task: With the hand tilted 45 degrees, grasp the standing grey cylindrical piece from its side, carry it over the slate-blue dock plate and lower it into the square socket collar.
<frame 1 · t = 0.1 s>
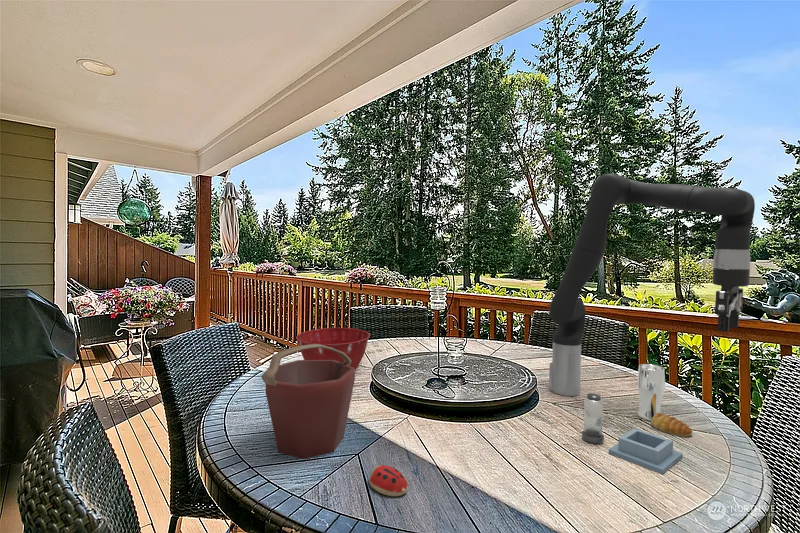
hand: (728, 329, 110), 29 cm above the table, tool pointing down, fingers open, 8 cm apart
bucket: (308, 442, 110), on the table
beer glass: (649, 417, 126), on the table
grey cylindrical piece: (592, 439, 111), on the table
ladybug figurine: (388, 488, 89), on the table
mixing bowl: (333, 373, 168), on the table
dock: (645, 455, 103), on the table
pastry: (669, 431, 118), on the table
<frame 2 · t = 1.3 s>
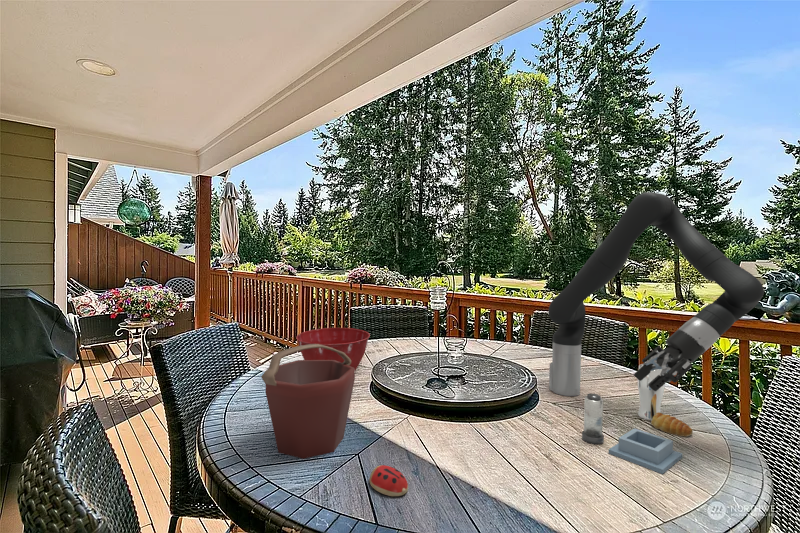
hand: (643, 383, 109), 16 cm above the table, tool tilted 45°, fingers open, 8 cm apart
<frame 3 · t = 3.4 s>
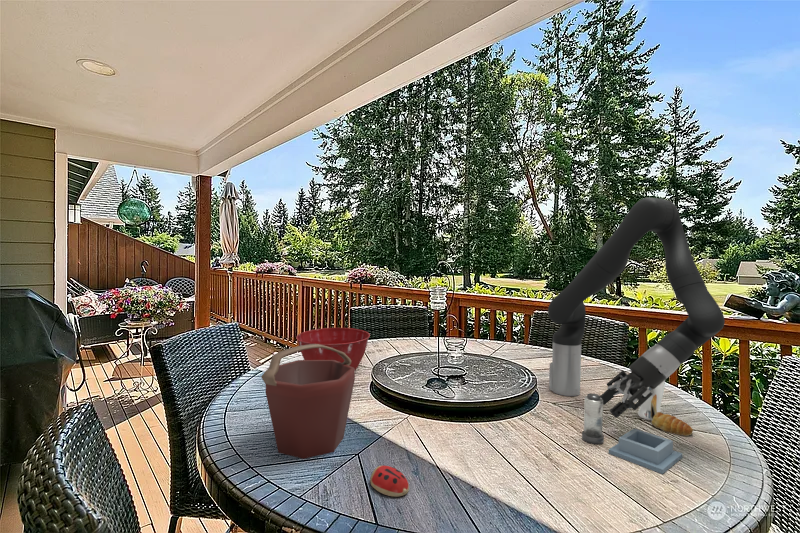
hand: (606, 408, 110), 9 cm above the table, tool tilted 45°, fingers open, 8 cm apart
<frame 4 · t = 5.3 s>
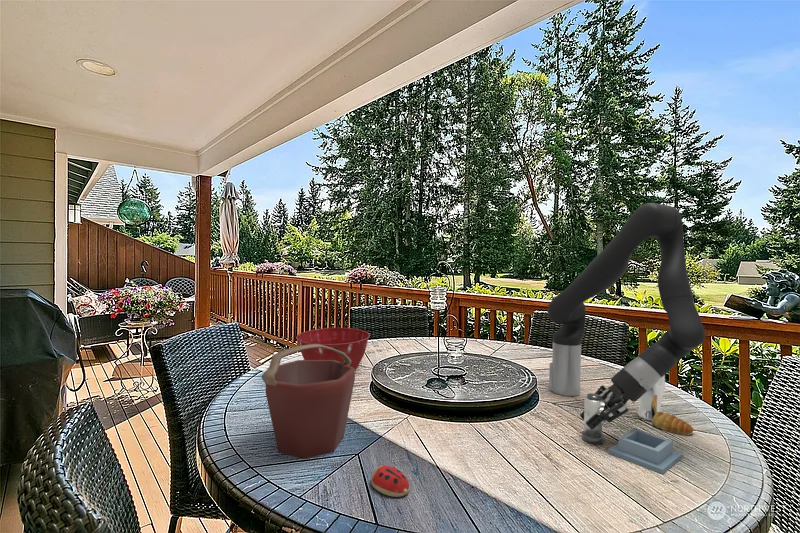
hand: (585, 422, 111), 5 cm above the table, tool tilted 45°, fingers closed on grey cylindrical piece, 4 cm apart
grey cylindrical piece: (592, 439, 111), on the table, touching gripper
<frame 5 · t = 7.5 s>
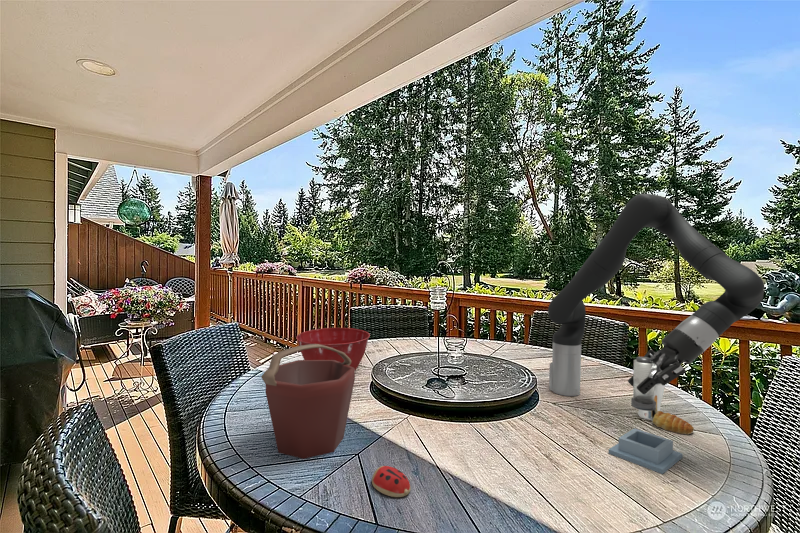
hand: (635, 387, 103), 17 cm above the table, tool tilted 45°, fingers closed on grey cylindrical piece, 4 cm apart
grey cylindrical piece: (643, 406, 103), point 12 cm above the table, touching gripper
when the fingers open (7 cm above the table, at t = 9.7 s): grey cylindrical piece drops 1 cm, resting on dock.
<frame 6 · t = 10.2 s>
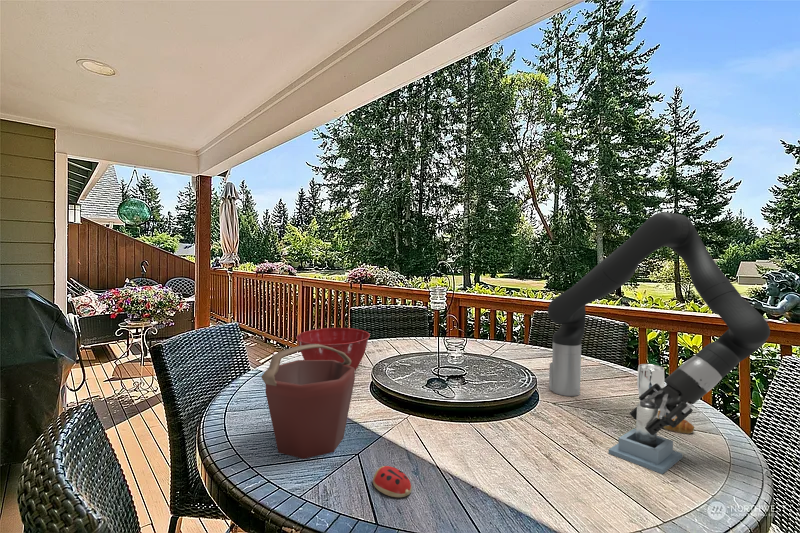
hand: (640, 424, 103), 8 cm above the table, tool tilted 45°, fingers open, 8 cm apart
grey cylindrical piece: (645, 450, 103), point 1 cm above the table, touching dock
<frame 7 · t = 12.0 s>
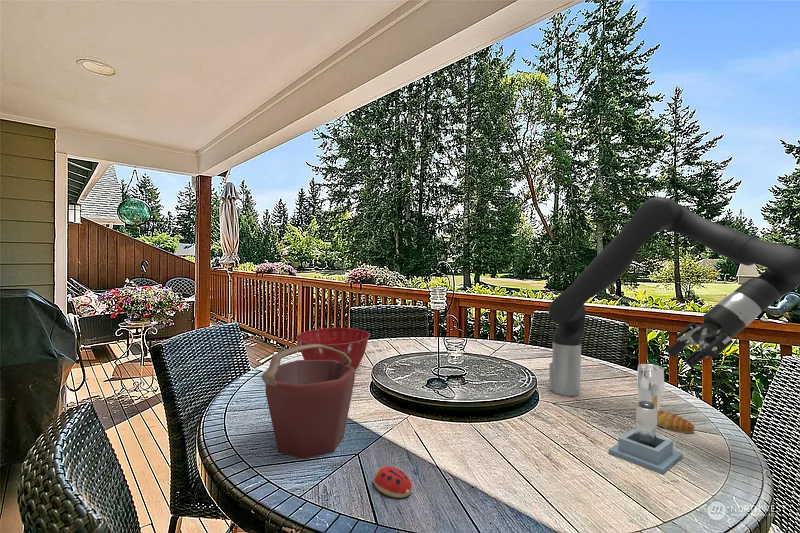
hand: (678, 359, 105), 23 cm above the table, tool tilted 45°, fingers open, 8 cm apart
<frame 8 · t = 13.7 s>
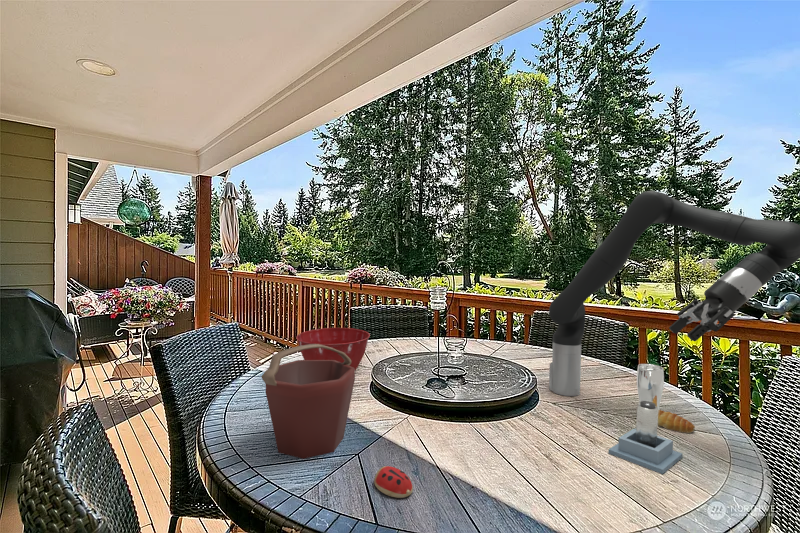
hand: (680, 334, 106), 29 cm above the table, tool tilted 45°, fingers open, 8 cm apart
at the end: grey cylindrical piece 0.2 cm off-centre on the dock, point 1.0 cm above the dock's base; grey cylindrical piece tilted 1°; the gripper is holding nothing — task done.
